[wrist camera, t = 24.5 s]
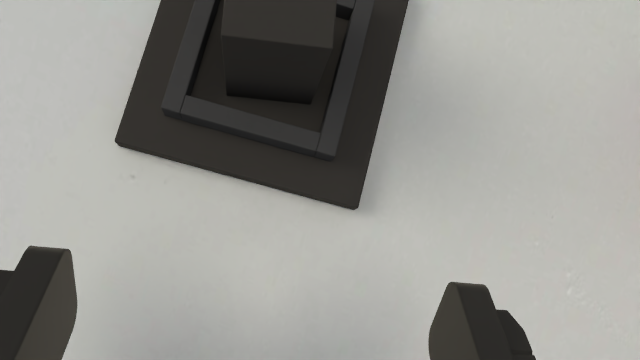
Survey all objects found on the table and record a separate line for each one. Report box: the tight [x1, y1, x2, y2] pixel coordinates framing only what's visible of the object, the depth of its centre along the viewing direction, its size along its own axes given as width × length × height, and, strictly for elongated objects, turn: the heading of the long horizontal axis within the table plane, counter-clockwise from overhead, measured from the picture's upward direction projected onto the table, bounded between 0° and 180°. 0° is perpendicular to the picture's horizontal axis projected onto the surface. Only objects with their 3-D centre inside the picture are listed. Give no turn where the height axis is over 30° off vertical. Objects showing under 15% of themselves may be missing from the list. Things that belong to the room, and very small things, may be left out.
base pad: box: [115, 0, 409, 210], centre depth 31 cm, size 13×13×2 cm
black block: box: [221, 0, 337, 105], centre depth 28 cm, size 4×4×8 cm
